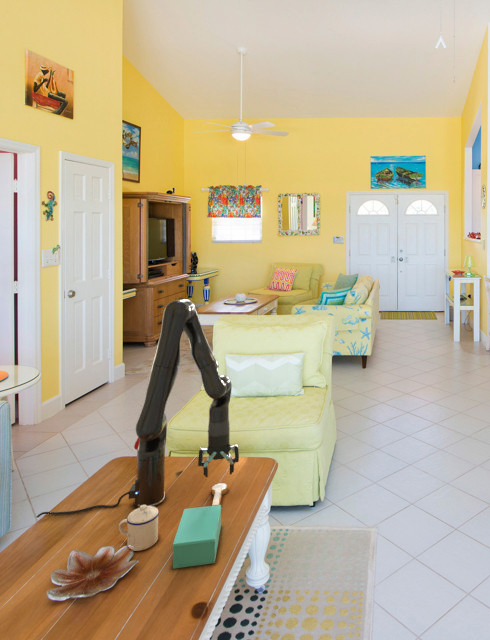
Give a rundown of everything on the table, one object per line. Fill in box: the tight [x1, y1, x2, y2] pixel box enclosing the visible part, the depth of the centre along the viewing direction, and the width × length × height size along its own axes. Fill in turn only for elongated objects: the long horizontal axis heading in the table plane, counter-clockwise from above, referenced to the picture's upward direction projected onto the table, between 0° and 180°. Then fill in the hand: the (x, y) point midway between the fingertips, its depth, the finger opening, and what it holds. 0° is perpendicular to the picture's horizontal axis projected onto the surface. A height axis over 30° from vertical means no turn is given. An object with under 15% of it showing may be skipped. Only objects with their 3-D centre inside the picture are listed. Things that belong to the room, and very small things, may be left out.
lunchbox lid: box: [172, 504, 222, 548], centre depth 145 cm, size 18×12×1 cm, turn 13°
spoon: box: [211, 482, 228, 506], centre depth 172 cm, size 17×5×3 cm, turn 13°
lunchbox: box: [172, 509, 222, 569], centre depth 146 cm, size 18×12×7 cm, turn 13°
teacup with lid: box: [118, 505, 160, 552], centre depth 147 cm, size 12×9×12 cm
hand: (218, 474), depth 172 cm, fingers open, 8 cm apart
